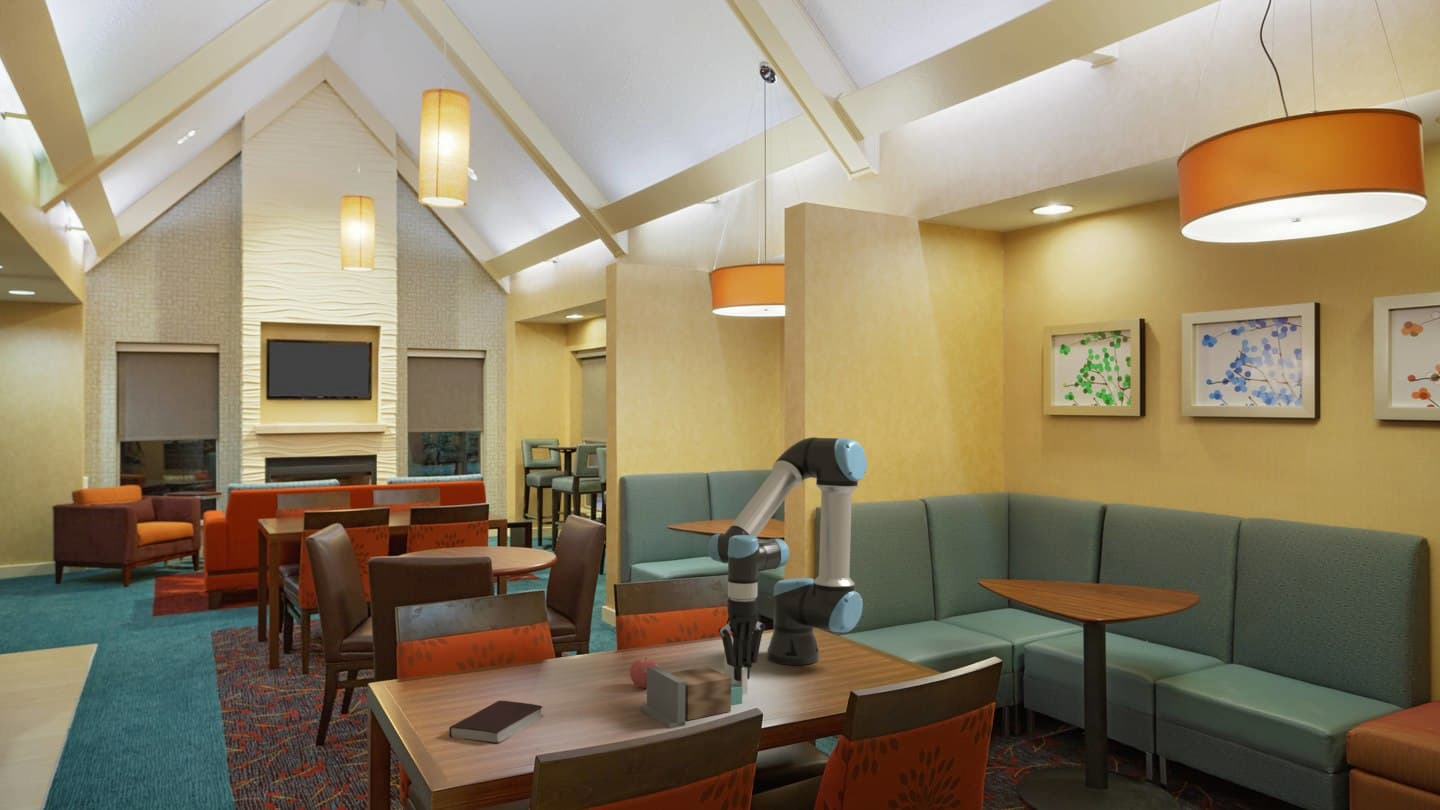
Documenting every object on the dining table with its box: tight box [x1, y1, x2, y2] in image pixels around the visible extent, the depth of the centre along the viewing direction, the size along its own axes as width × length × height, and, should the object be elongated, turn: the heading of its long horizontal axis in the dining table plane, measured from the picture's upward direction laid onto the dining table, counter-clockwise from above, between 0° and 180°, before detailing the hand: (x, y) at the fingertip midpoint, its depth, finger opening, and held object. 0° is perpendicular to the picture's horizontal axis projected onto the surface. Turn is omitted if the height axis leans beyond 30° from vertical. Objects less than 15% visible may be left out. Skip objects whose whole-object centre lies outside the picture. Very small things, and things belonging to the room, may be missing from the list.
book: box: [448, 700, 544, 745], centre depth 205 cm, size 12×19×3 cm, turn 160°
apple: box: [629, 656, 659, 689], centre depth 234 cm, size 7×7×8 cm
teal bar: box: [731, 683, 743, 706], centre depth 220 cm, size 14×4×4 cm, turn 123°
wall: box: [639, 665, 686, 729], centre depth 212 cm, size 4×15×10 cm, turn 33°
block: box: [669, 666, 732, 721], centre depth 217 cm, size 12×11×8 cm
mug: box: [723, 636, 750, 687], centre depth 238 cm, size 10×7×12 cm, turn 24°
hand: (741, 692), depth 224 cm, fingers closed
